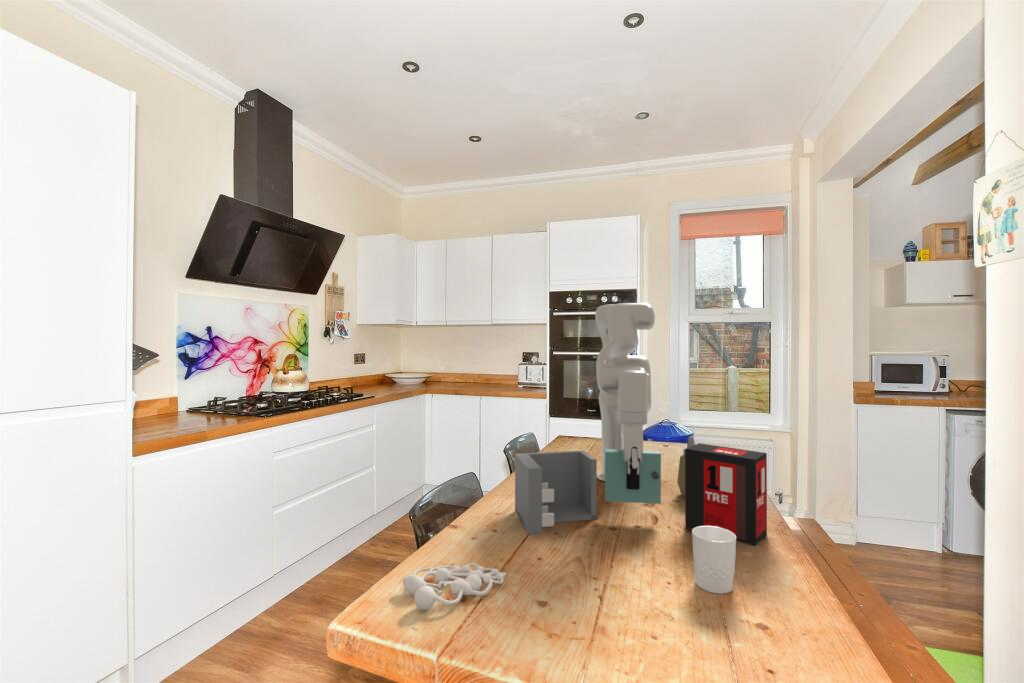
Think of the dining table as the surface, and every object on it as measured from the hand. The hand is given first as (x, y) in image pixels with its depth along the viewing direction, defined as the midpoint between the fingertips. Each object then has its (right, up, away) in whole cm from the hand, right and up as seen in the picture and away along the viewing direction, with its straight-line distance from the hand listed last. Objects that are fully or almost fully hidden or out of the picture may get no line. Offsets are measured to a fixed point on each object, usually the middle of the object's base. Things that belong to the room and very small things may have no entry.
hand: (632, 486), depth 125 cm
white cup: (+7, -9, -33) cm, 35 cm away
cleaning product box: (+21, -9, -7) cm, 24 cm away
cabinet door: (0, -4, 0) cm, 4 cm away
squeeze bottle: (+23, -9, +20) cm, 32 cm away
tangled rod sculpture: (-43, -10, -34) cm, 56 cm away
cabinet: (-19, -9, +1) cm, 22 cm away
